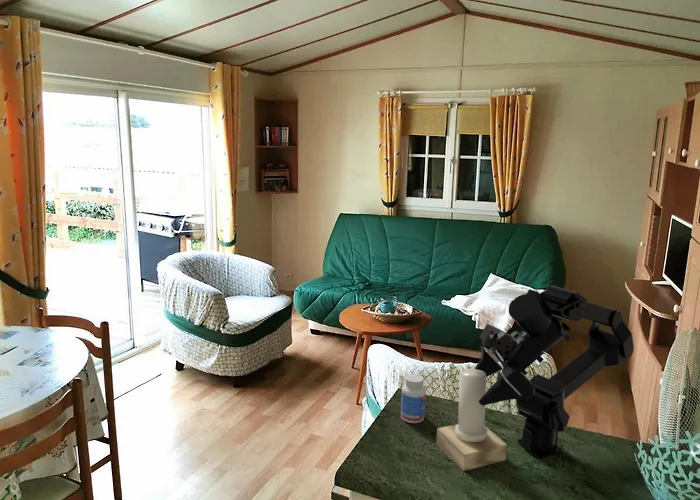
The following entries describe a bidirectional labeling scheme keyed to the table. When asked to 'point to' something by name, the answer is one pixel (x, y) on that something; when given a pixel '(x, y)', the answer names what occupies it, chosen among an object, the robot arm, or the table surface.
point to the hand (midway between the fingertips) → (474, 392)
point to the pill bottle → (413, 399)
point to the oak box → (471, 449)
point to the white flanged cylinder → (471, 406)
